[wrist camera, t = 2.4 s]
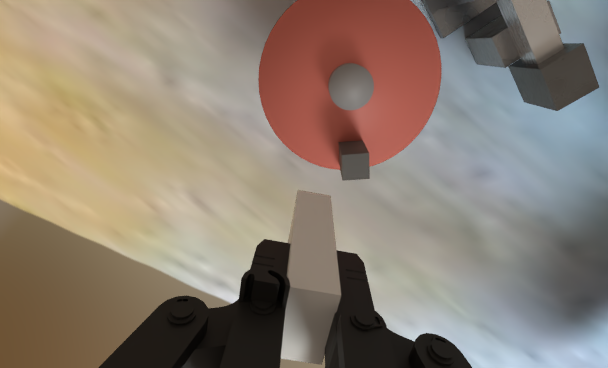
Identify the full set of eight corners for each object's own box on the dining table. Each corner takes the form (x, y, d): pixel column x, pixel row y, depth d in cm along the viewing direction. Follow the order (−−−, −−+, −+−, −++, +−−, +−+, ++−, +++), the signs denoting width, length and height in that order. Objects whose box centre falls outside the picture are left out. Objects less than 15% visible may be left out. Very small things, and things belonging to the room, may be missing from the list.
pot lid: (250, -7, 25) (235, -19, 20) (440, -26, 24) (471, -43, 19) (272, 168, 30) (264, 191, 26) (429, 158, 29) (450, 179, 25)
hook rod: (559, 81, 32) (619, 90, 25) (524, 102, 32) (573, 115, 26) (481, -115, 26) (532, -165, 20) (441, -84, 27) (479, -123, 21)
